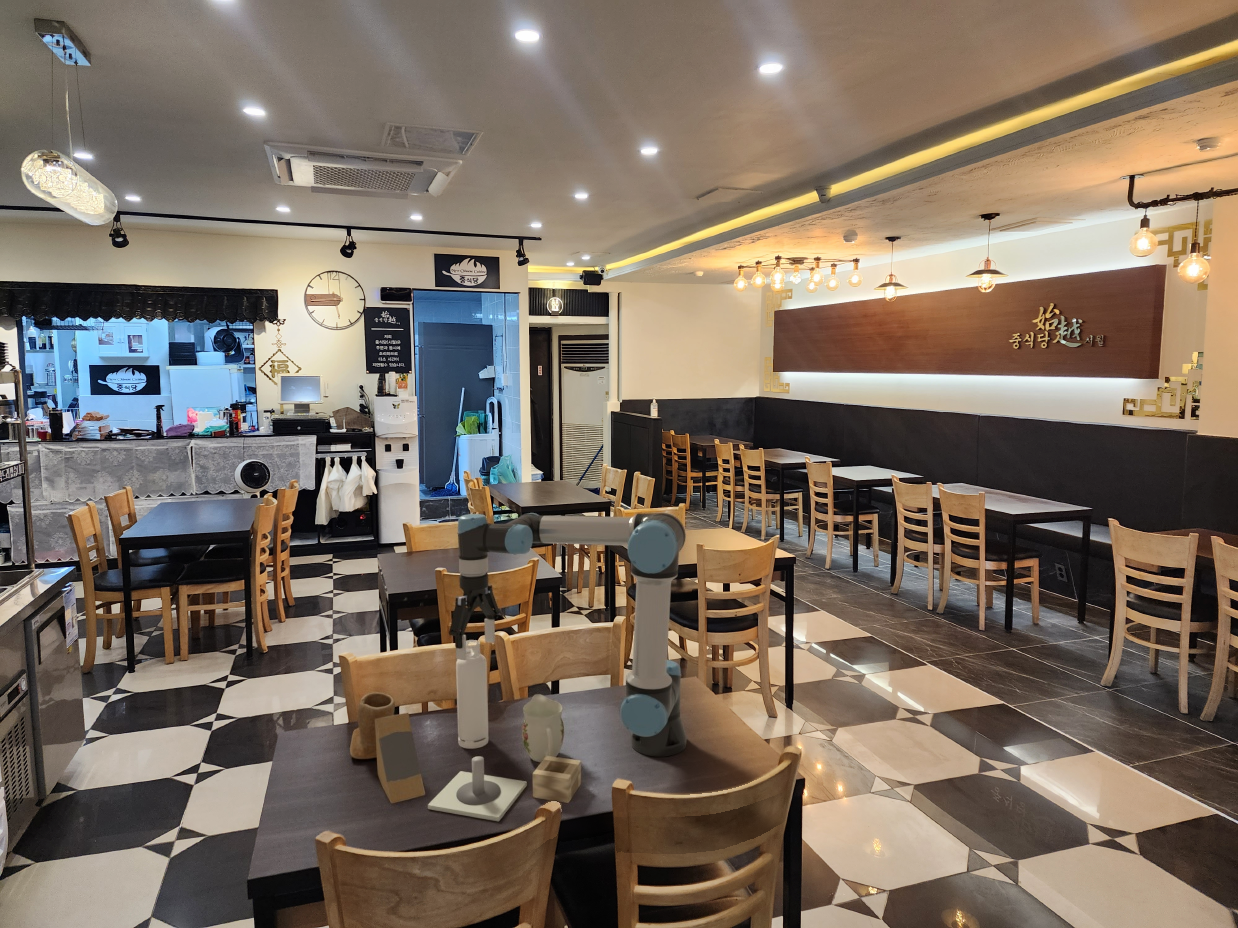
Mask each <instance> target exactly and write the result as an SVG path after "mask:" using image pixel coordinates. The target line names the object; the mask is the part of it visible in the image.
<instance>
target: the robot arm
mask: <svg viewBox="0 0 1238 928" xmlns="http://www.w3.org/2000/svg"><path fill="white" fill-rule="evenodd" d="M456 534H457V542H458V566H459V567H458V568H459V569H458V570H459V571H458V572H459V573H460V574H459V576H458V578H459V581H458V582H459V589H461V590H462V591H463V592H462V593H463V594H462V596H456V597H455V600H454V601H455V605H454V610H453V614H452V617H451V618H452V619H451V622H450V627H449V632H448V635H449V636H453V637H454V641H455V642H454V646H455V659H456V660H457V659H459V660H467V657H466V641H467V635H466V634H465V632H466V629H467V627H468V623H469V621H470V618H471V616H472V613H474V612H475V610H476V609H477V608H479V609H480V610H481V612H482V613H483V614H484V617H485V618H484V620H483V621H484V642H485V643H487V644H495V643H496V638H495V636H496V634H495V633H496V632H495V630H496V629H495V627H496V626H495V625H496V623H495V620H498V618H499V614H500V609H499V606H498V603H497V601H496V598H495V595H494V592H493V585H491V584H489V573H488V572H489V554H488V553H493V554H494V553H497V554H510V555H527V554H528V553H529V552H530V551H531V548H532V546H533V544H556V545H557V544H567V545H594V546H595V545H597V546H600V545H603V546H627V555H628V558H629V560H630V574H631V575H632V576H633V577H634V578H635V579H636V584H635V585H636V587H635V602H634V603H635V609H634V628H633V632H634V633H633V648H632V650H633V652H632V667H631V668H632V669H631V671H630V672H628V673H627V674H626V677H625V690H624V691H625V692H624V694H625V695H624V699H623V701H622V703H621V705H620V719H621V722H622V724H623V725H624V727H625V728H626V729H627V730H628V731H630V733H631V734H630V745H631V747H632V748H633V749H634V751H636V752H638V753H639V754H643V755H645V756H651V757H669V756H674V755H678V754H680V753H682V752H683V751H684V750H685V749H686V747H687V733H686V730H685V727H684V724H683V721H682V718H681V687H682V686H681V684H682V683H681V679H682V678H681V677H682V673H681V666H680V664H679V663H678V662H676V661H673V660H670V659H668V649H669V632H670V631H669V628H670V626H669V625H670V608H671V593H672V591H671V590H672V581H673V580H675V579H676V578H677V577H678V574H679V558H680V552H681V550H682V549H683V547H684V546H685V542H686V537H687V535H686V530H685V526H684V525H683V523H682V521H681V520H680V519H679V518H678V517H677V516H674V515H673V514H671V513H668V512H648V513H646V512H645V513H641V512H640V513H639V512H638V513H635V514H634V515H633V516H587V515H586V516H585V515H584V516H581V515H575V516H573V515H540V514H537V513H536V512H535V513H534V512H530V513H529V512H528V513H524V514H522V515H520V516H519V517H517V518H515V519H513V520H511V521H508V522H507V523H490V522H488V519H487V516H486V515H484V514H480V513H469V514H463V515H461V516H459V518H458V520H457V533H456Z"/></svg>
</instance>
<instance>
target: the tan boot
mask: <svg viewBox="0 0 1238 928" xmlns="http://www.w3.org/2000/svg"><path fill="white" fill-rule="evenodd" d="M395 704H396V702H395V699H394V698H393V697H392V696H391V695H390V694H387V693H384V692H378V691H377V692H370V693H367V694H365V695H363V696H362V697H361V698H360V700H359V702H358V705H357V706H358V709H357V719H356V720H357V725H358V727H356V728H355V729H354V730H353V732H352V736H351V741H350V747H349V752H350V756H351V757H352V758H353V759H356V760H357V759H358V760H370V759H377V750H376V731H375V719H378V718H383V717H388V716H392V715H395V706H396V705H395Z"/></svg>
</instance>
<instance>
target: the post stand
mask: <svg viewBox="0 0 1238 928" xmlns="http://www.w3.org/2000/svg"><path fill="white" fill-rule="evenodd" d="M484 759H485V758H484V757H483V756H474V757H473V758H471V772H469V771H459V772H458V773H457V774H456V775H455V776H454V777H453V778H452V779H451V780H450V781H449V783H447V784H446V786H444V787H443V789H442V790H441V791H440V792H438V793H437V795H436V796H435V797H434V798H433V799H432V800H431V801H430V802H429V803H428V804H427V809H428V810H432V811H437V812H444V813H448V814H449V813H450V814H455V815H459V816H467V817H472V818H477V819H483V820H488V821H493V822H494V821H495V822H500V821H501V819H502V818H503V817H504V816H505V814H506V812H508V810H509V809H510V808H511V806H512V805H513V804H514V803H515V801H516V800H517V799H518V798H519V796H520V795H521V794H522V793H523V791H524V790H525V788H526V787H527V786H528V783H527V782H528V781H526V780H525V781H524V780H520V779H519V780H518V779H514V778H513V779H512V778H506V777H501V776H495V775H494V776H493V775H487V774H485V760H484Z"/></svg>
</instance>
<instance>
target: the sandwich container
mask: <svg viewBox="0 0 1238 928" xmlns="http://www.w3.org/2000/svg"><path fill="white" fill-rule="evenodd" d="M410 720H411V719H410V713H409V712H404V713H399V714H394V715H392V716H388V717H383V718H378V719H375V731H376V750H377V757H376V762H377V763H376V764H377V776H378V779H379V782H380V785H381V786H382V788H383V791H384V792H385V795H386V796H387V799H388V800H389V802H390V804H395V803H400V802H402V801H403V802H404V801H407V800H411V799H415V798H418V797H423V796H425V795H426V791H425V787H424V782H423V777H422V773H421V768H420V764H419V759H418V755H417V749H416V744H415V740H414V736H413V731H412V730H413V729H412V725H411V721H410Z"/></svg>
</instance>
